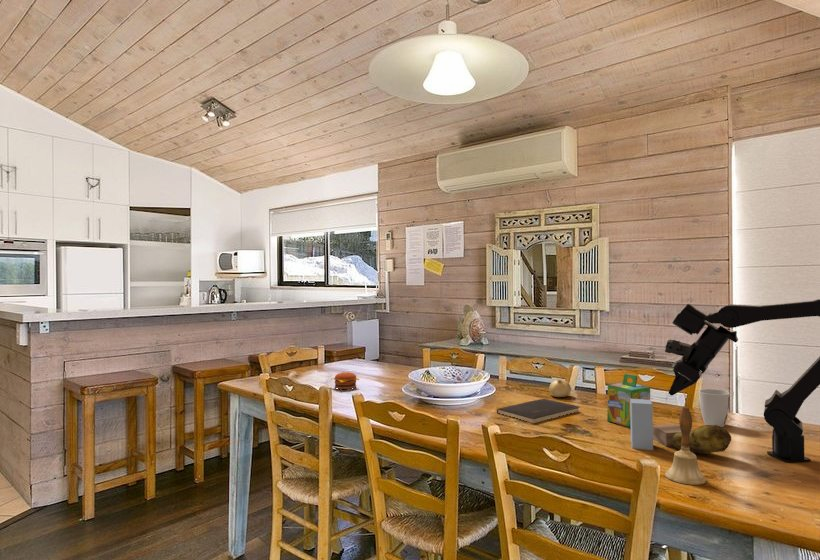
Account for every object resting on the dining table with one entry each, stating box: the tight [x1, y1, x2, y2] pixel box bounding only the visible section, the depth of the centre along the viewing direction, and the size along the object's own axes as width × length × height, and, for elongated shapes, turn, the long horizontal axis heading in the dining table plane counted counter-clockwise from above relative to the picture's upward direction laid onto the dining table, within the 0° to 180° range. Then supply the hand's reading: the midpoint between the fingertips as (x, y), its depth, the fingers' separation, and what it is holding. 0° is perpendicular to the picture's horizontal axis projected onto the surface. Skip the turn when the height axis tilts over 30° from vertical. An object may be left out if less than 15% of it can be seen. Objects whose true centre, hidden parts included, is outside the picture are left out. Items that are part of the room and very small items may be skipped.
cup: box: [698, 388, 731, 428], centre depth 158 cm, size 8×8×10 cm
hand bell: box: [664, 406, 707, 486], centre depth 118 cm, size 8×8×16 cm
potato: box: [672, 424, 732, 455], centre depth 133 cm, size 8×13×8 cm, turn 26°
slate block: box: [630, 399, 654, 451], centre depth 140 cm, size 5×5×12 cm
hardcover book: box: [496, 398, 581, 424], centre depth 176 cm, size 16×23×2 cm
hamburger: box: [331, 371, 360, 390], centre depth 221 cm, size 9×10×7 cm
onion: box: [548, 378, 572, 398], centre depth 199 cm, size 8×8×7 cm
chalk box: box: [606, 373, 651, 429], centre depth 162 cm, size 9×9×15 cm
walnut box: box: [653, 424, 681, 448], centre depth 143 cm, size 7×7×4 cm
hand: (673, 391), depth 144 cm, fingers open, 9 cm apart
